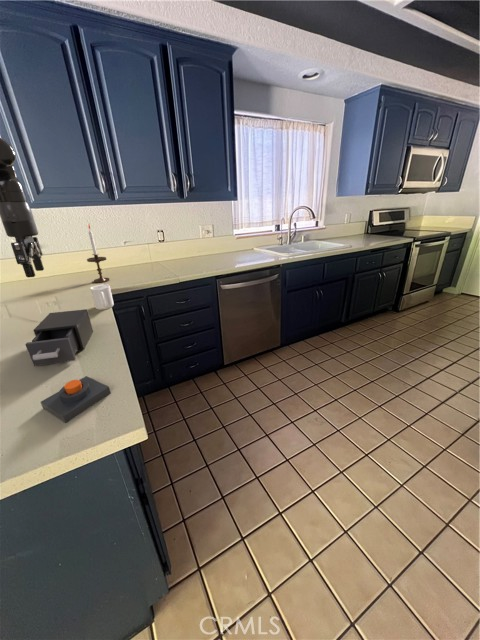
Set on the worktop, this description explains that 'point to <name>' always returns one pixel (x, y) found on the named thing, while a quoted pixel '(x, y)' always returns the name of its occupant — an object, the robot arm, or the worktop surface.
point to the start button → (73, 386)
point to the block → (75, 399)
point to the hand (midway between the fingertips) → (35, 273)
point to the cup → (102, 296)
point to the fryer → (69, 324)
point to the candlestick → (96, 260)
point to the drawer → (53, 346)
